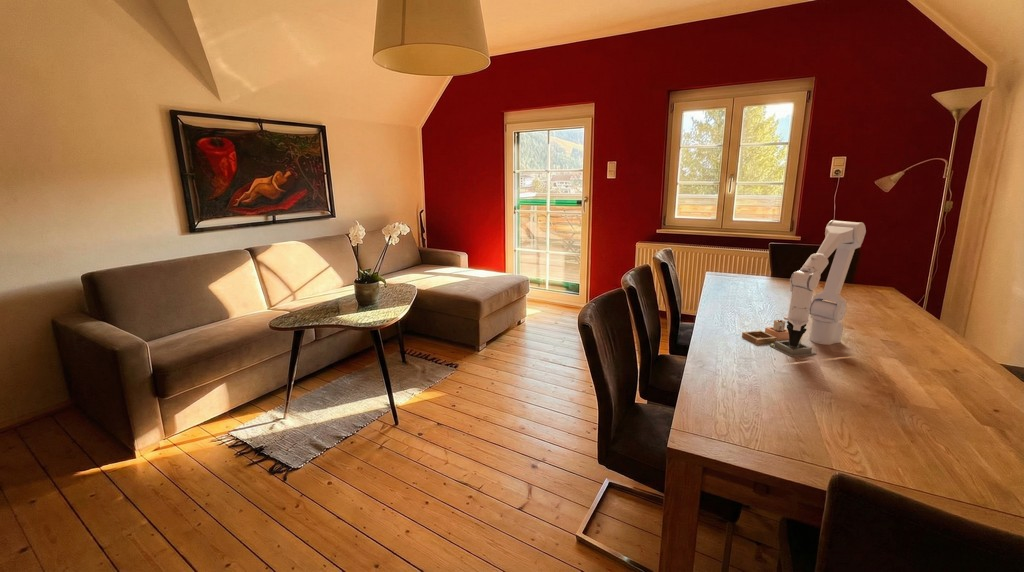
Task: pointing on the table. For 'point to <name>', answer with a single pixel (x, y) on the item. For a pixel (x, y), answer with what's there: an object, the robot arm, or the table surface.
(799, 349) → the cradle
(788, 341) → the cell
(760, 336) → the brown square tray
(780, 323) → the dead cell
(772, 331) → the orange square box
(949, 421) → the table surface
